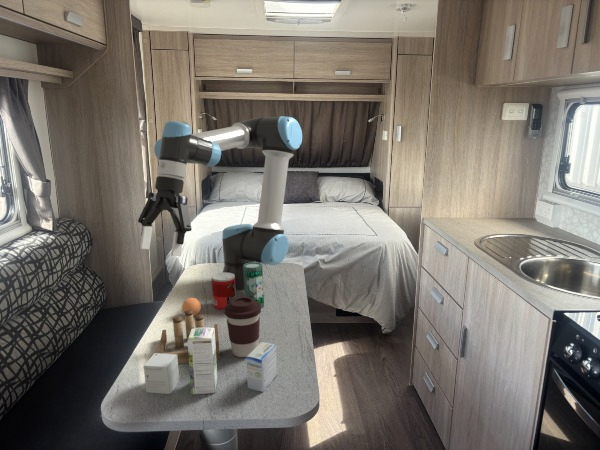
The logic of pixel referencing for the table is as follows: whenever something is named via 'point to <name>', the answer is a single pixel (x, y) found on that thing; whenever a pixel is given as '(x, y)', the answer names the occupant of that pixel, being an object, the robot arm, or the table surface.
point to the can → (254, 281)
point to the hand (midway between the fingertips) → (159, 252)
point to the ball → (191, 305)
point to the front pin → (189, 322)
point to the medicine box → (261, 366)
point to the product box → (161, 373)
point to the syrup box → (202, 360)
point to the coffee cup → (243, 325)
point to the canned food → (223, 289)
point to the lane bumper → (183, 355)
